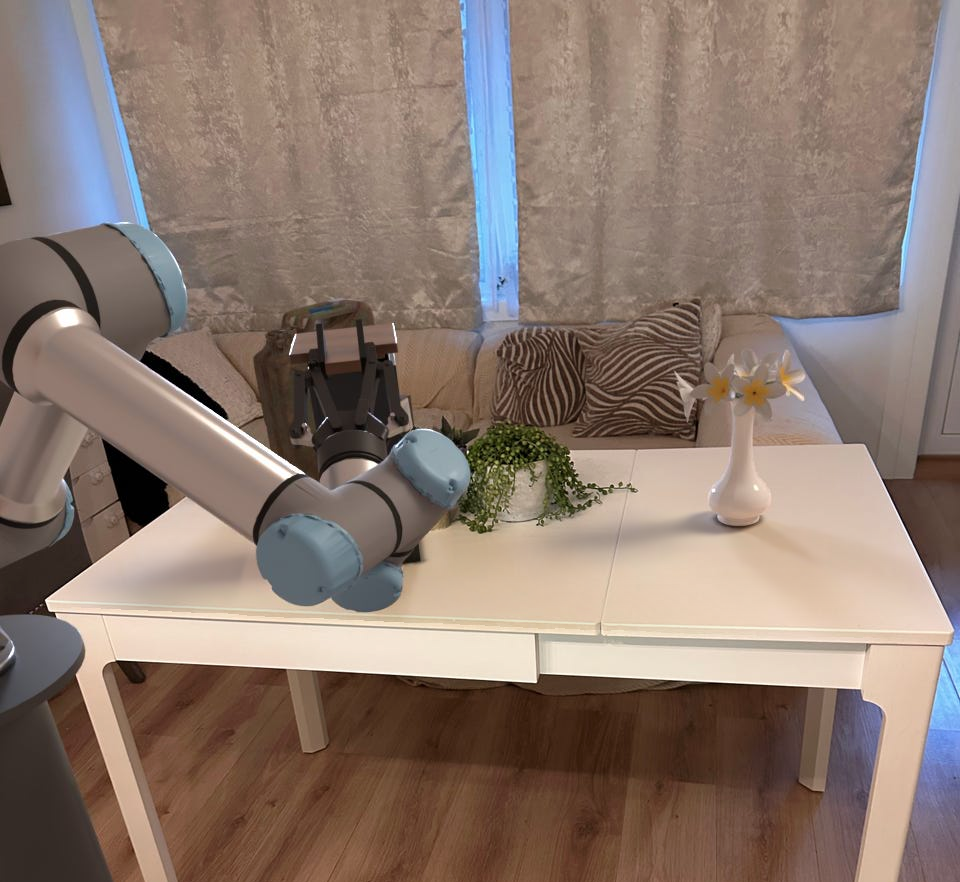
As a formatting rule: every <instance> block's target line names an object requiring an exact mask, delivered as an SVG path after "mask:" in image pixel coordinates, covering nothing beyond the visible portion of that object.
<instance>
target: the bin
mask: <svg viewBox="0 0 960 882" xmlns="http://www.w3.org/2000/svg"><path fill="white" fill-rule="evenodd" d="M384 355H385V358H380V359H377V360H378V361H379V362H384V361H385V360H391V361H392V362H393V366H394V371H395V377H396V382H397V387H398V392H399V398H400V395H401V393H400V388H399V379H398V372H397V364H396V357H395V353H391V354H384ZM308 369H309V367H308ZM363 378H364V375H362V369H361V371H358V372H349V373H341V374H332V375H329V379H328V380H325V382H326V385H327V387H328V390H329V393H330V395H331V398H332V400H333V402H334V404H335V407H336V409H337V411H350V410H353V409H357V406H358V400H359V399H360V395H361V390H362V384H363ZM379 380H380V382H379V381H378V387H377V394H376V400H375V406H374V412H373V416H374V417H375V418H377V419H378V420H379V421H380V422H382V423H383V424H384V425H385V426H386V425H387V424H388V417H389V416H390V413H391V412H390V407H389V401H388V396H387V390H386V384H385V379H379ZM309 392H310V397H311V403H312V409H313V414H314V420H315V426H316V430H317V429H318V428H319V427H320V426H321V424H322V423H323V422H324V421H325V420H326V419H325V416H324V413H323V411H322V408H321V405H320V403H319V400H318V397H317V395H316V392H315V389H314V387H313V386H312V387H310V388H309ZM400 403H401V402H400ZM403 437H404V436H401V435H400V433H399V434H397V435H395V436H392V437H390V441H389V444H388V445H387V456H388V455H389V454H390V452H391V449H392V447H393V446H394V445H396V444H398V443H399V442H400V441H401V440H402V438H403ZM420 551H421V550H420V542H419V543H418V544H417V546H416V547H415V549H414V550H413V551H412V553H411V554H410V555H409V556H408V557H407V558H406V559H405V560H404V561H403V563H402V564H408V563H415V562H417V563H418V562H421V561H422V559H421V552H420Z"/></svg>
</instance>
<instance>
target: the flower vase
mask: <svg viewBox="0 0 960 882" xmlns="http://www.w3.org/2000/svg"><path fill="white" fill-rule="evenodd" d="M779 357H780V354H779V353H778V352H777V351H771V352H768V353H767V354H765V355H763V357H762V358H760V360H758V356H757V355H756V353H755V352H754V351H753V350H752V349H751V348H748V347H744V348H742V351H741V359H742V362H743V364H741V363H735V361H734V360H735V353H732V354H731V355H730V357H729V359H728V361H727V363H726V366H725V367H724V368H723V370H721V371H719V370H718V368H717V367H716V366H715V365H714V364H713V363H712V362H710V361H709V362H708V361H707V362H706V363H704V366H703V374H704V377H705V380H706V381H707V383H703V384H699V385H697V386H695V387H692V386H691V385H690V384H688V383H687V382H686V381H685V380H684V379H683V378H682V377H681V376H680V375H679V374H678V373H677V372H676V371H675V370H673V371H674V375H675V377H676V379H677V381H676V385H677V389H678V391H679V395H680V398H681V400H682V402H683V412H684V417H685V418H686V423H688V422H689V420H690V414H691V412H692V408H693V405H694V403H695V401H696V399H697V400H699V399H700V400H702V401H705V400H706V402H705V404H704V408H703V410H704V415H705V416H710V415H712V414H713V413H714V411H715V410H716V409H717V407H718V405H719V403H720V402H721V401H723V402H728V403H729V405H730V411H731V412H730V413H731V423H732V424H731V438H730V439H731V440H730V451H729V457H728V458H729V459H728V463H727V465H726V468H725V471H724V472H723V474H722V475H721V477H720V478H719V479H718V480H716V482H714V483H713V485H711V487H710V489H709V492H708V494H707V495H708V496H707V504H708V506H709V508H710V509H711V511H712V512H714V513H715V514H716V515H717V520H718V521H719V522H720V523H721V524H723V525H727V526H732V527H746V526H751V525H754V524H756V523H758V521H759V520H760V517H761V516H760V515H762V514H764V513H765V512H766V511H767V510H768V509H769V507H770V505H771V503H772V492H771V490H770V488H769V487H768V484H767V483H766V482H765V481H764V480H763V479H762V478H761V477H760V476H759V474H758V472H757V470H756V467H755V462H754V451H753V450H754V449H753V448H754V446H753V445H754V420H755V416H756V415H757V416H758V417H759V418H760V419H761V420H763V421H765V422H768V421H770V420H771V419H772V416H773V410H772V406H771V403H770V402H769V400H774V399H778V398H781V397H782V396H784V395H785V396H786V397H790V396H791V395H792V396H794V397H795V398H796V399H797V400H799V401H800V402H803V403H804V402H805V396H804V393H803V392H802V391H801V388H800V387H798V386H797V384H800V383H802V382H804V380H805V378H806V374H805V371H804V370H803V369H801V368H793V369H791V367H792V356H791V352H790V351H789V350H788V349H785V351H784V353H783V357H782V361H780V360H779ZM774 365H775V369H772V368H773V366H774Z"/></svg>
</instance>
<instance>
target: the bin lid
mask: <svg viewBox="0 0 960 882" xmlns="http://www.w3.org/2000/svg"><path fill="white" fill-rule="evenodd" d="M363 329H364V336H365V343H366V342H373V343H374V344H375V348H376V355H377V359H380V358H385V355H384V354H391V353H394V354H398V353H399V350H398V347H399V346H398V340H397V335H396V330H395V325H394V322H391V323H390V322H388V323H381V324H375V325H370V326H363ZM324 335H325V340H326V349H327V352H326V359H325V369H326V375H332V374H341V373H349V372H358V371H361V361H360V356H359V347H358V337H357V328H356V327H352V328H343V329H334V330H325V331H324ZM316 348H318V345H317V332H307V333H298V334H295V338H294V341H293V345H292V348H291V351H290V355H289V356H290V362H291V365H294V364H302V363H306V364H307V367H309V366H308V362H309V350H310V349H316Z"/></svg>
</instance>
